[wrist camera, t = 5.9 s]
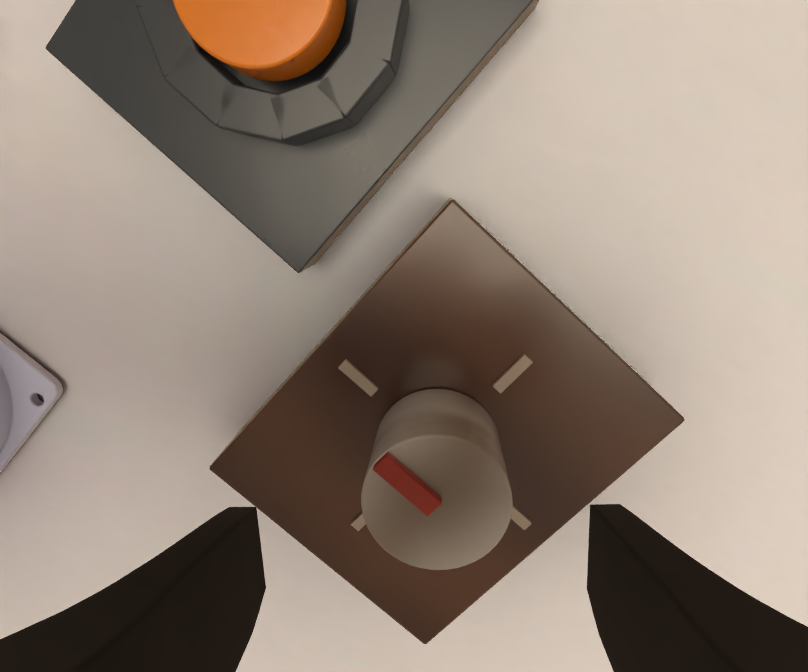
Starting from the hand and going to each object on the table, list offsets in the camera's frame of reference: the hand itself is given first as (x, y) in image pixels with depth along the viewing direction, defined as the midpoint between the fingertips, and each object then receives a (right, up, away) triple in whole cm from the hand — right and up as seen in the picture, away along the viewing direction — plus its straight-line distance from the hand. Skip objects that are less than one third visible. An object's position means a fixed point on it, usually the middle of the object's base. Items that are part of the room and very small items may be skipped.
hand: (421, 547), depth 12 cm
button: (-4, +13, +3) cm, 14 cm away
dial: (+1, +1, +6) cm, 6 cm away
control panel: (+1, +2, +9) cm, 9 cm away
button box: (-4, +14, +6) cm, 16 cm away
